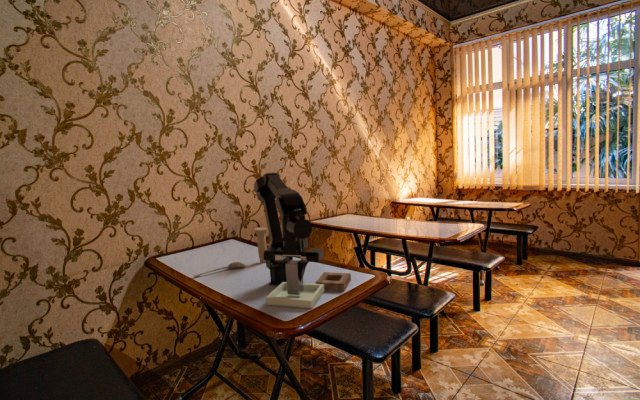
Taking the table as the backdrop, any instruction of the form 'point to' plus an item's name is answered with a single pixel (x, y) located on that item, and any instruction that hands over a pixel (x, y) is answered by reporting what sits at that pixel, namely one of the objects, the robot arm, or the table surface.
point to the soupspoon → (234, 264)
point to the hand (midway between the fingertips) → (295, 280)
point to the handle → (261, 242)
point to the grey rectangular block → (293, 278)
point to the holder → (334, 281)
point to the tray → (295, 296)
